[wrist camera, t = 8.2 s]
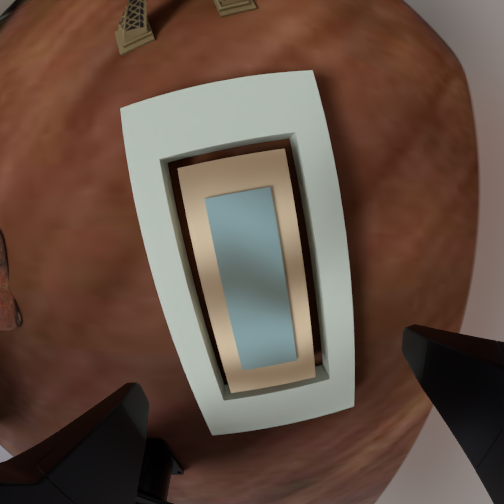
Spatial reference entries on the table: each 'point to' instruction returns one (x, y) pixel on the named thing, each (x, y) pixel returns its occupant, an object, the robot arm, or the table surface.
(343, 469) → the table surface
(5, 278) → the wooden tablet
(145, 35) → the eiffel tower
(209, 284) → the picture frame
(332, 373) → the pale grey open frame
